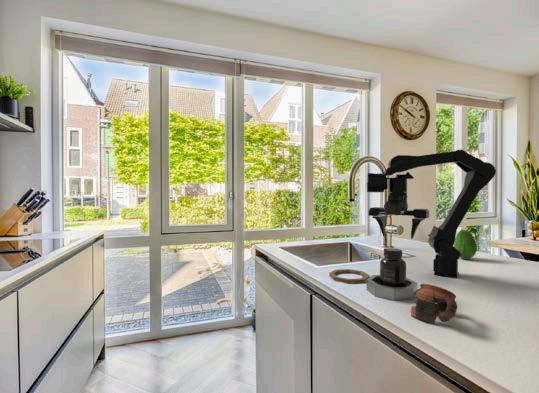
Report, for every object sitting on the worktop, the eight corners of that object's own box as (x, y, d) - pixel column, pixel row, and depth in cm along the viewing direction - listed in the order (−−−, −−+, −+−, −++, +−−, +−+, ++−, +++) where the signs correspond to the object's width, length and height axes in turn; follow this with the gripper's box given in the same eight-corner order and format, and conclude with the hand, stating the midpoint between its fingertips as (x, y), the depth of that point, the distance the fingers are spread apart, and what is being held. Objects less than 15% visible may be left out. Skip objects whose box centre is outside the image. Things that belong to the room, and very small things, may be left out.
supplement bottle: (411, 294, 82) (412, 251, 82) (391, 297, 80) (391, 252, 80) (394, 287, 89) (394, 246, 88) (374, 289, 87) (374, 248, 86)
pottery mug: (399, 312, 72) (409, 280, 74) (434, 329, 72) (442, 296, 74) (433, 321, 60) (443, 282, 62) (474, 340, 60) (483, 301, 63)
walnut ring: (373, 276, 100) (373, 273, 99) (360, 285, 90) (360, 282, 90) (339, 270, 107) (339, 267, 107) (324, 278, 97) (324, 275, 97)
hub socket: (420, 290, 86) (420, 279, 86) (409, 303, 76) (409, 291, 76) (376, 282, 93) (376, 272, 93) (361, 293, 83) (361, 282, 83)
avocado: (449, 258, 124) (449, 229, 123) (461, 256, 127) (461, 227, 127) (469, 262, 116) (469, 231, 116) (481, 260, 120) (481, 230, 119)
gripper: (362, 192, 103) (362, 238, 103) (422, 193, 92) (422, 243, 92) (373, 192, 112) (373, 233, 112) (429, 192, 100) (429, 238, 101)
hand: (397, 237), depth 104 cm, fingers open, 9 cm apart
